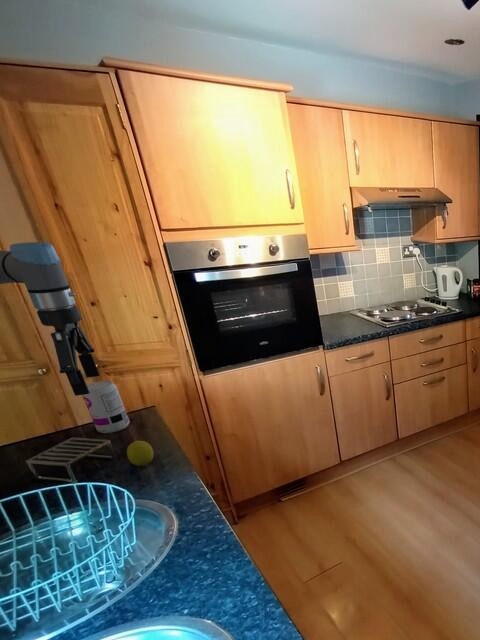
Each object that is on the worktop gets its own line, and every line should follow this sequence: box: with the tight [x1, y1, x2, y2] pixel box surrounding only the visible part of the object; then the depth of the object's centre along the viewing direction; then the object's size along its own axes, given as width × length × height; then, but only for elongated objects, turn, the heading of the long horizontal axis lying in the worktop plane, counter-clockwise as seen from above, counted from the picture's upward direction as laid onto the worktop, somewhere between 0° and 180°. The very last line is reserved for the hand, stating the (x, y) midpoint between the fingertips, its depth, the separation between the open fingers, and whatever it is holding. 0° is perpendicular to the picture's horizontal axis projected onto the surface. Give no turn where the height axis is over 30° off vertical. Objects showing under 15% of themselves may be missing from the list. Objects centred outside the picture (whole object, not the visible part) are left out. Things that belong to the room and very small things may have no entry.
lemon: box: [126, 440, 155, 467], centre depth 124 cm, size 6×6×8 cm
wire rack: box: [24, 436, 119, 484], centre depth 121 cm, size 12×12×7 cm
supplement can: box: [81, 380, 130, 434], centre depth 142 cm, size 8×8×15 cm
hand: (88, 385), depth 121 cm, fingers open, 13 cm apart
